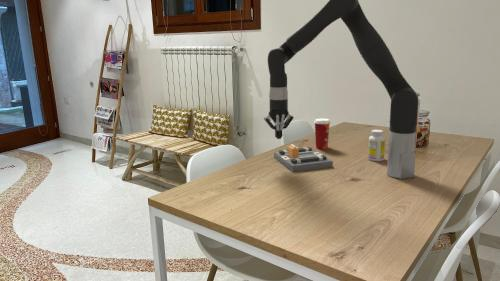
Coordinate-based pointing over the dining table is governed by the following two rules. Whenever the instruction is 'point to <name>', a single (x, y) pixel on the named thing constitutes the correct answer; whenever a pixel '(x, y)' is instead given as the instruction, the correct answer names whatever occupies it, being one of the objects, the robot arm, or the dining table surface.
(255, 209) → the dining table surface
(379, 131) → the supplement bottle
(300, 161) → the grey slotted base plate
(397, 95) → the robot arm
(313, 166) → the breaker panel
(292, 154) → the block
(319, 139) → the paper cup
